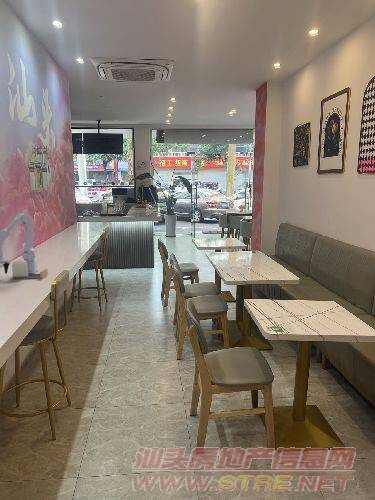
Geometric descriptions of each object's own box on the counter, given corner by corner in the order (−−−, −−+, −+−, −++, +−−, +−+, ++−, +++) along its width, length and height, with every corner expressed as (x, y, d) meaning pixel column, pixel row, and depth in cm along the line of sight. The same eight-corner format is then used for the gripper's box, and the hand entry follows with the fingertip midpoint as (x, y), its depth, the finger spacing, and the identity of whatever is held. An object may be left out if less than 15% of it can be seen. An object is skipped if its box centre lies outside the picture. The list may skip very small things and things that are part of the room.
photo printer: (12, 278, 276) (10, 261, 274) (14, 277, 281) (12, 260, 278) (27, 278, 277) (25, 261, 275) (29, 276, 282) (27, 259, 279)
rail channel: (18, 275, 284) (17, 269, 283) (47, 275, 284) (47, 268, 283) (12, 279, 274) (11, 272, 273) (42, 278, 274) (42, 271, 273)
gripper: (-15, 256, 272) (-13, 275, 274) (6, 255, 272) (8, 274, 274) (-10, 254, 279) (-8, 272, 281) (10, 253, 279) (12, 272, 281)
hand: (0, 273), depth 278 cm, fingers open, 7 cm apart
